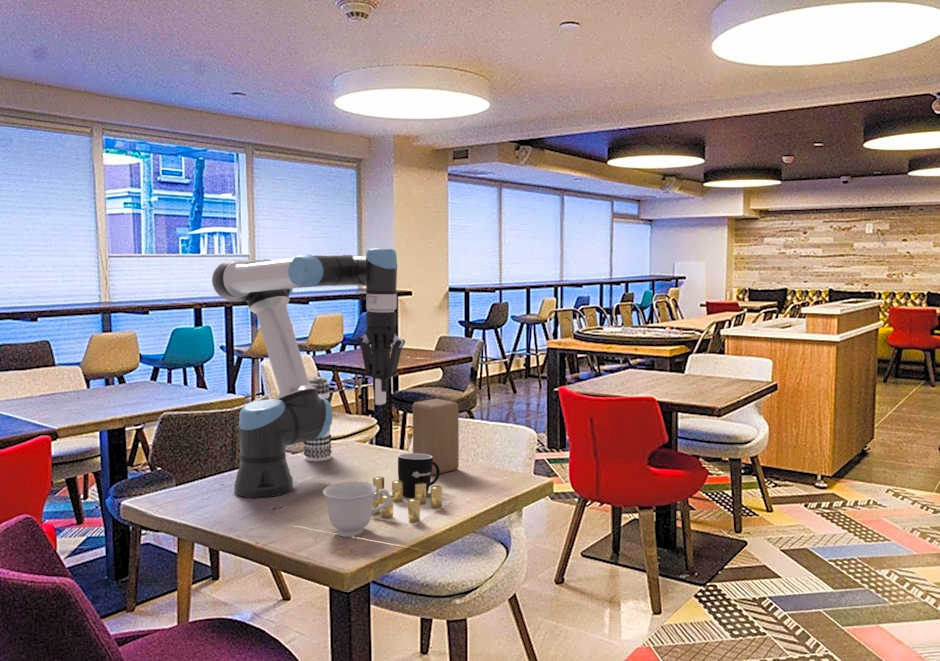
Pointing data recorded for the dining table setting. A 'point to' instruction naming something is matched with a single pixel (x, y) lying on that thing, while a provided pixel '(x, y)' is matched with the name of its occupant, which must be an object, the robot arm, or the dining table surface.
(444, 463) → the block
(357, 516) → the teacup
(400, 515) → the tray
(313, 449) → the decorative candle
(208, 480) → the dining table surface
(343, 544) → the dining table surface
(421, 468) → the mug
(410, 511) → the spacers
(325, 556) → the dining table surface
